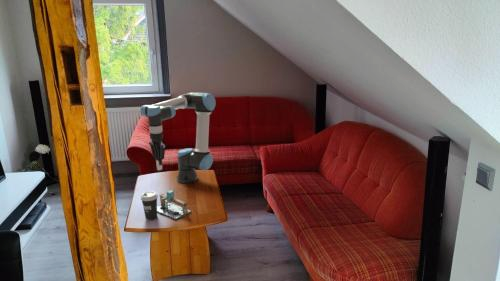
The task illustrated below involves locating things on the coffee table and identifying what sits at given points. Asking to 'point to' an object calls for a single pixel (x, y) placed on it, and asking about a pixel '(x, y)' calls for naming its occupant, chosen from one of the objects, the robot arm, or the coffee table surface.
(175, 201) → the wooden rail
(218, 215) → the coffee table surface
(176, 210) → the bolt plate
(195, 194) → the coffee table surface
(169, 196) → the slider block
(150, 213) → the coffee cup
